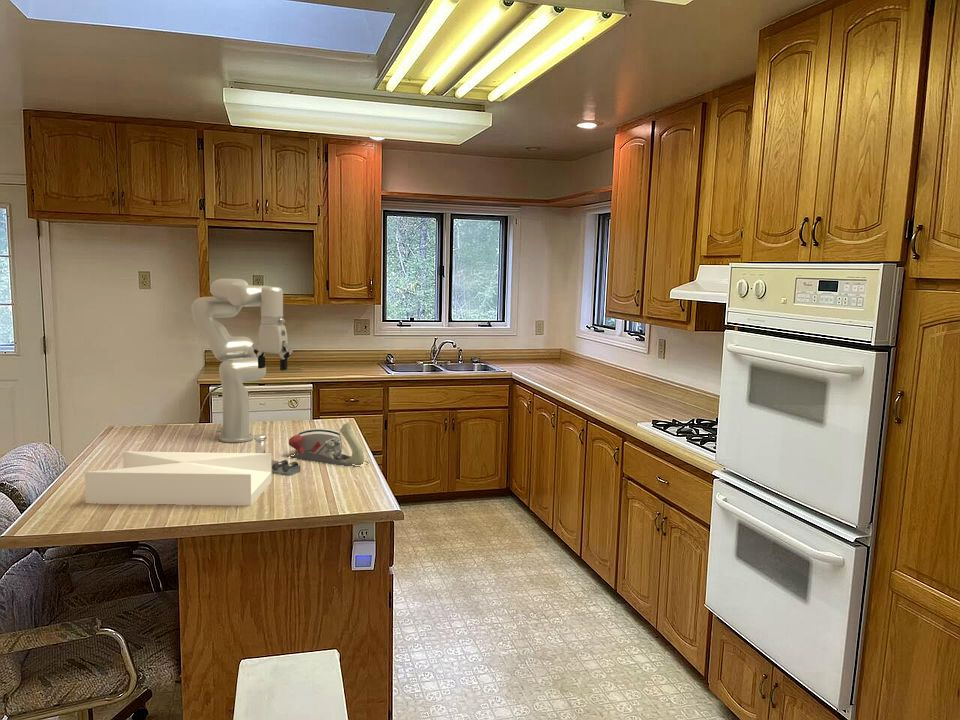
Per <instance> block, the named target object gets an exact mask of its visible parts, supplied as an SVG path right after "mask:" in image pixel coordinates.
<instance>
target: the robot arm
mask: <svg viewBox="0 0 960 720" xmlns="http://www.w3.org/2000/svg"><path fill="white" fill-rule="evenodd" d="M209 291H210V293H211V295H212V296H202V297H198V298H196V299H194V300H193V302H192V303H191V310H190V311H191V315H192V319H193V322H194V324H195V325H196V327H197V329H198V330H199V331H200V332H201V333H202V335H203V336H204V338H205V340H206V342H207V344H208V346H209V348H210V350H211V352H212V354H213V355H214V357H215V358H216V360H218V361H220V362H221V363H220V364H219V368H218V371H219V379H220V383H221V391H222V392H221V394H222V395H221V396H222V426H221V425H220V426H218V427H217V429H216V430H215V431H216V433H220V435H219V436H218V441H220V442H223V443H231V444H232V443H235V444H236V443H245V442H249V441H252V440H254V434H252V433H250V401H249V400H250V399H249V392H248V389H247V388H246V386H245V385H244V384H243V383H248V382H256V381H261V380H263V379H264V378H265V376H266V375H267V366H266V356H265V355H266V354H272V355H273V354H274V355H275V354H276V355H277V354H278V356H279V357H280V359H279V371H287V370H288V359H289V358H290V357H291V355H292V353H293V351H294V347H293V346H292V345H291V344H289V342H288V333H287V329H286V326H285V325H284V324H285V323H286V319H284V292H283V289H282V288H281V287H279V286H269V285H250V284H249V283H248V281H246V280H244V279H242V278H218V279H215V280H214V281H213V282H212V283H211V285H210V289H209ZM243 307H245V308H246V307H248V308H249V307H260V325H259V329H258V337H257V341H255V342H254V341H253V340H252V339H251V338H250V337H247V336H243V335H241V336H233V335H230V333H229V332H228V329H227V328H226V327H225V326H224V325H223V323H221V322H220V321H219V320H217V319H219V318H221V319H223V318H227V319H228V318H233V317H235V316H237V315H238V314H239V313H240V311H241V310H242V308H243Z"/></svg>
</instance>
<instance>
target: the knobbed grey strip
mask: <svg viewBox="0 0 960 720" xmlns="http://www.w3.org/2000/svg"><path fill="white" fill-rule="evenodd" d="M271 472H274V473H273V474H279V473H281V474H280V475H285V474H287V475H286V476H293V475H295V474H298V473H300V472H301V465H300V464H299V462H297V461H292V462H290V463H289V462H288V460H287V459H284V460H281V461H279V460H274V459H273V460H272V459H271Z"/></svg>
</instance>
